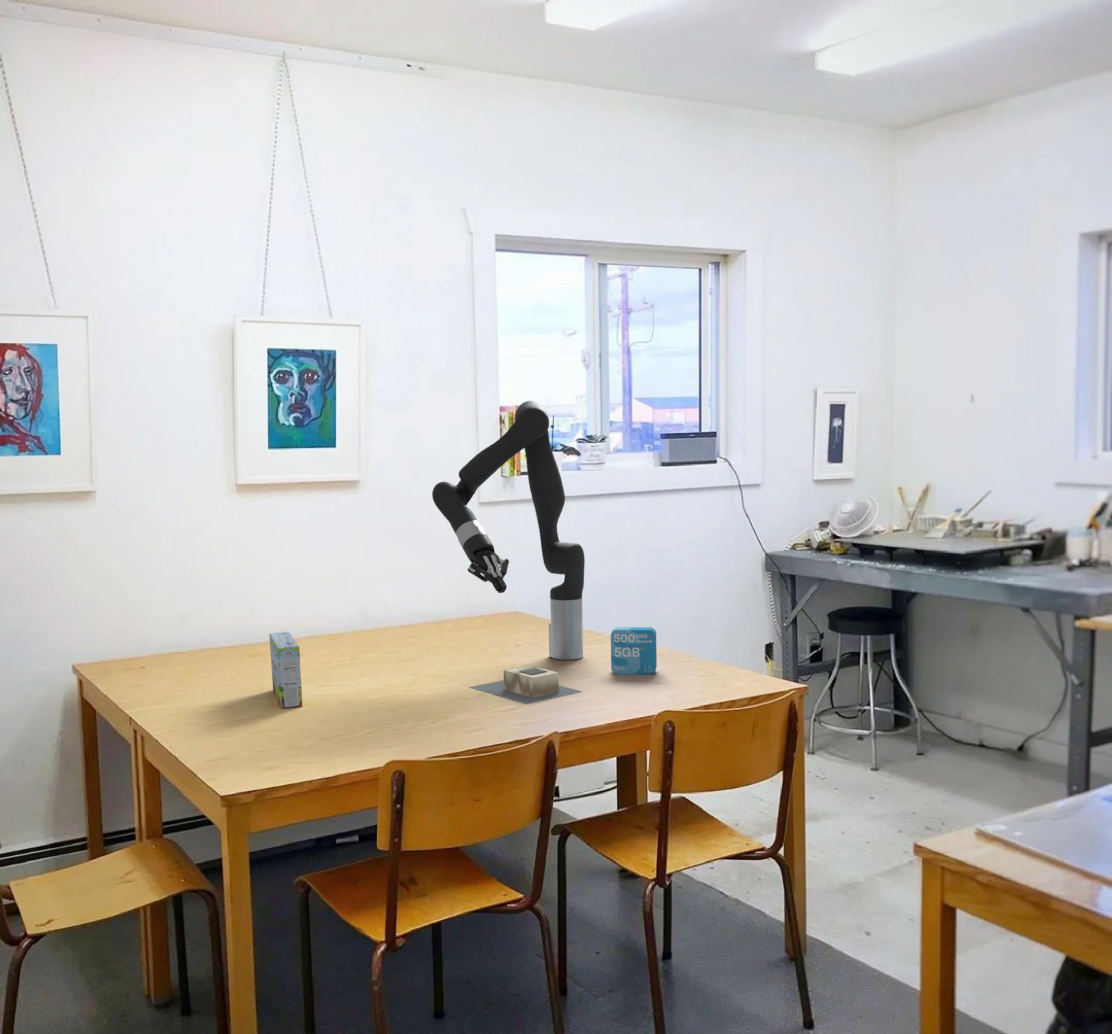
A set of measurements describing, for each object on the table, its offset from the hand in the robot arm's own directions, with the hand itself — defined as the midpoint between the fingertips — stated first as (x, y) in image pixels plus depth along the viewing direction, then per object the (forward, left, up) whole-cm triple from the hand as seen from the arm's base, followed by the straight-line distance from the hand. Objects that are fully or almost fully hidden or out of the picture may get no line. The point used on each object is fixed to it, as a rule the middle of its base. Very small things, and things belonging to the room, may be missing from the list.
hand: (503, 590), depth 285 cm
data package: (+18, +30, -24) cm, 42 cm away
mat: (+14, -4, -23) cm, 28 cm away
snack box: (-21, -52, -24) cm, 61 cm away
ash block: (+10, -4, -21) cm, 24 cm away
